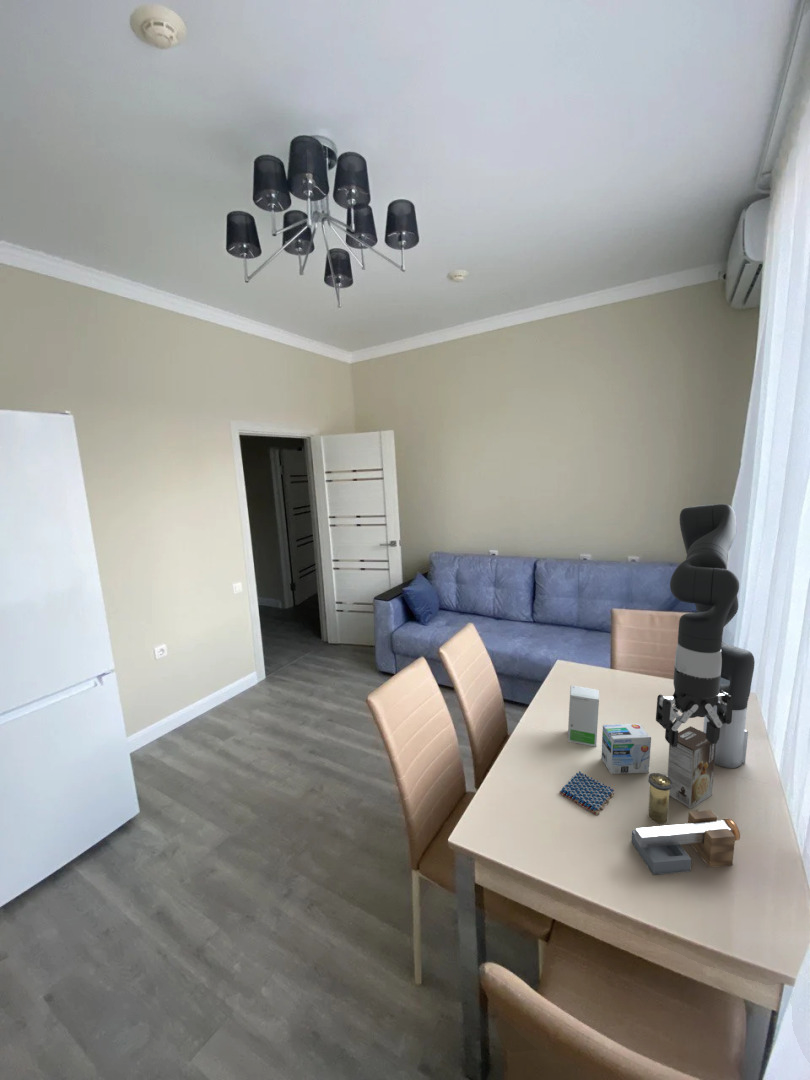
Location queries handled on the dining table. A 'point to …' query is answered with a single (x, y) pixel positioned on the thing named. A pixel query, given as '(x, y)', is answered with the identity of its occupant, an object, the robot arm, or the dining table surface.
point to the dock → (663, 858)
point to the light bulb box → (626, 748)
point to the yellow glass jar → (659, 797)
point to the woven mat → (587, 792)
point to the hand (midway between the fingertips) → (691, 742)
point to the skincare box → (583, 715)
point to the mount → (713, 841)
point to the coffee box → (691, 767)
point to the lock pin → (681, 833)
